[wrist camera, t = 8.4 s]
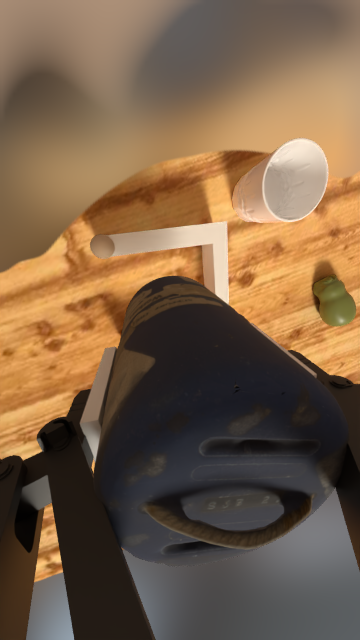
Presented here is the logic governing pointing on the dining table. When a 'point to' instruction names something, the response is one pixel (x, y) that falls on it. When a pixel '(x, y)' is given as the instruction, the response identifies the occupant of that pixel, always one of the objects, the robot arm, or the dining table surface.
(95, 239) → the bracket
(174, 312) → the canister
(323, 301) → the pear
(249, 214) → the white cup
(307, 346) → the dining table surface
